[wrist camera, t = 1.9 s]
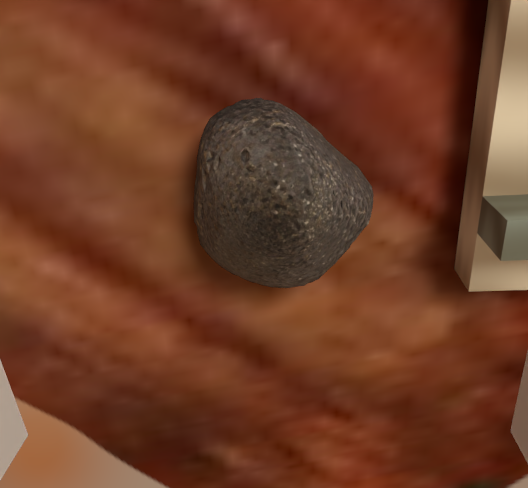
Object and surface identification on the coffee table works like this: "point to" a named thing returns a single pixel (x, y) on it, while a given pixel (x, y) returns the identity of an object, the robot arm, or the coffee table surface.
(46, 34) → the coffee table surface
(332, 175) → the stone
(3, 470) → the robot arm
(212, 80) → the coffee table surface
